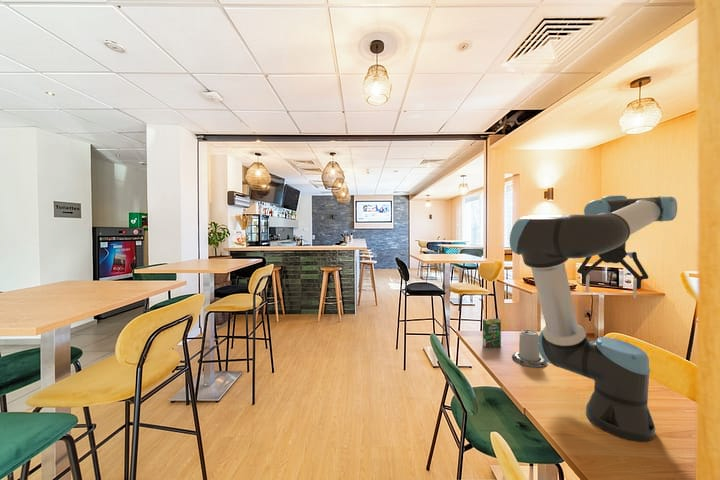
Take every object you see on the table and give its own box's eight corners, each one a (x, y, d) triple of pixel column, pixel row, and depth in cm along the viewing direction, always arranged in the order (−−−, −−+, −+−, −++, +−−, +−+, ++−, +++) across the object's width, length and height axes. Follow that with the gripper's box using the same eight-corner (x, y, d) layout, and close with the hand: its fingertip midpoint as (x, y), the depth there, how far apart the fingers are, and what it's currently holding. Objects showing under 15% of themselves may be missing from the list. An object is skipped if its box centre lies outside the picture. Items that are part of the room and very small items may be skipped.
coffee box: (485, 348, 141) (485, 320, 140) (481, 345, 144) (482, 318, 143) (501, 347, 142) (501, 320, 141) (497, 345, 145) (498, 318, 144)
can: (523, 353, 133) (524, 327, 132) (542, 359, 127) (542, 331, 127) (515, 358, 128) (516, 331, 128) (534, 364, 123) (535, 336, 122)
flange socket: (552, 369, 120) (552, 365, 120) (516, 365, 123) (516, 362, 123) (540, 355, 133) (540, 352, 133) (508, 352, 136) (508, 349, 135)
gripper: (659, 238, 106) (656, 298, 107) (573, 236, 122) (571, 288, 123) (660, 239, 100) (657, 302, 101) (570, 237, 117) (568, 291, 118)
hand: (609, 294), depth 112 cm, fingers open, 13 cm apart
